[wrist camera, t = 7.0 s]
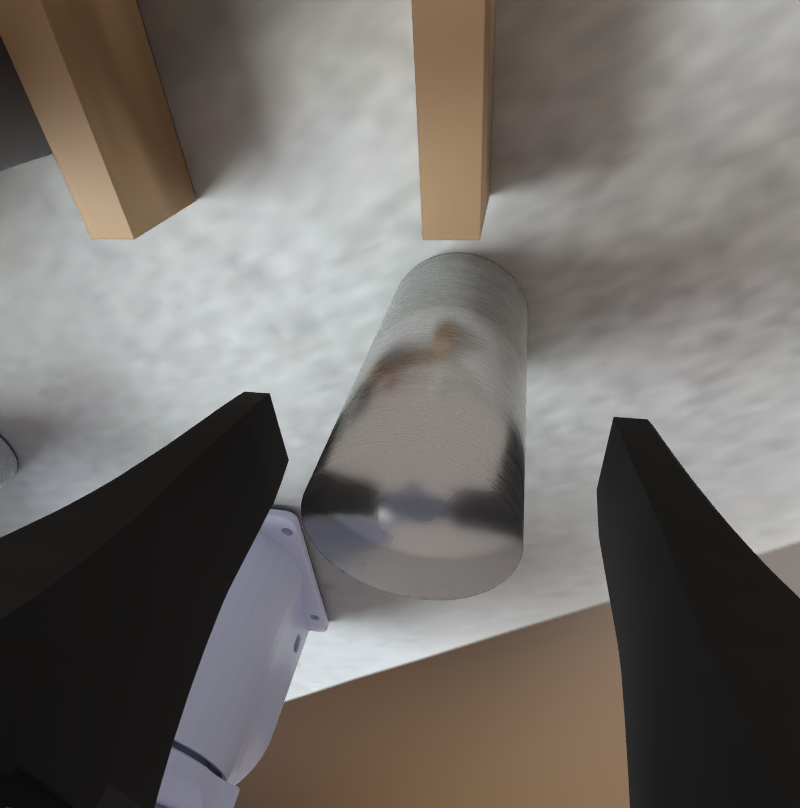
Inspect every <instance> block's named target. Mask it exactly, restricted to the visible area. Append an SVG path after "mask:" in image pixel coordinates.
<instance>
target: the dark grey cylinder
mask: <svg viewBox="0 0 800 808" xmlns="http://www.w3.org/2000/svg"><path fill="white" fill-rule="evenodd" d="M51 153H53V152H52V150H51V148H50V146H49V143H48V141H47V139H46V137H45V134H44V132H43V130H42V128H41V125H40V123H39V121H38V119H37V116H36V114H35V112H34V110H33V107H32V105H31V103H30V101H29V98H28V96H27V94H26V92H25V89H24V87H23V85H22V83H21V80H20V78H19V76H18V74H17V71H16V69H15V67H14V65H13V62H12V60H11V58H10V55H9V53H8V51H7V49H6V46H5V44H4V42H3V40H2V37H1V35H0V171H1V170H4V169H7V168H10V167H13V166H16V165H19V164H22V163H25V162H28V161H31V160H34V159H37V158H40V157H44V156H47V155H49V154H51Z"/></svg>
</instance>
